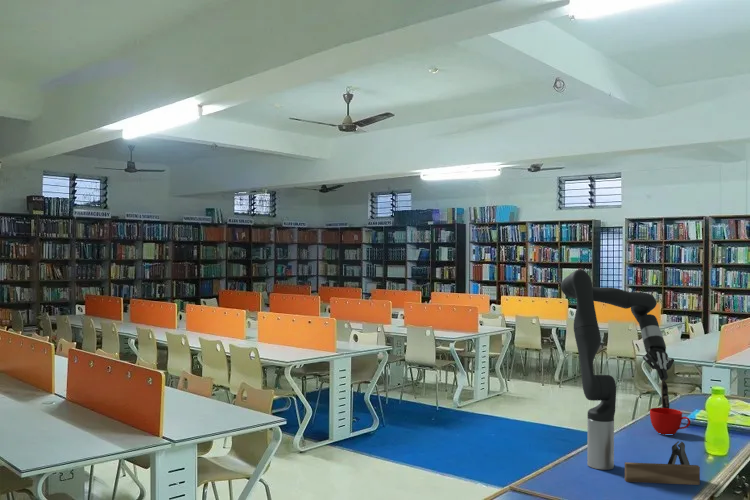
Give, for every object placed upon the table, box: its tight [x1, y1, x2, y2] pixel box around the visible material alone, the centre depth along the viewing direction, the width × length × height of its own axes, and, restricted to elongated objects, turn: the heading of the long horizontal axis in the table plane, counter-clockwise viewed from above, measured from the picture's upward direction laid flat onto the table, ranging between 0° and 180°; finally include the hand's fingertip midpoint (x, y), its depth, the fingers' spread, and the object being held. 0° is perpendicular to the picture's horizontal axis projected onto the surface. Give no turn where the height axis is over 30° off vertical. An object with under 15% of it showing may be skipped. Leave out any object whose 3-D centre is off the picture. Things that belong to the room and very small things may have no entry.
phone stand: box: [667, 440, 691, 465], centre depth 225 cm, size 9×6×12 cm, turn 52°
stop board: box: [624, 461, 701, 486], centre depth 220 cm, size 2×24×6 cm, turn 85°
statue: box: [660, 380, 670, 409], centre depth 307 cm, size 4×7×20 cm, turn 102°
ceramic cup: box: [649, 407, 691, 435], centre depth 283 cm, size 13×17×10 cm
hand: (664, 379), depth 242 cm, fingers closed
